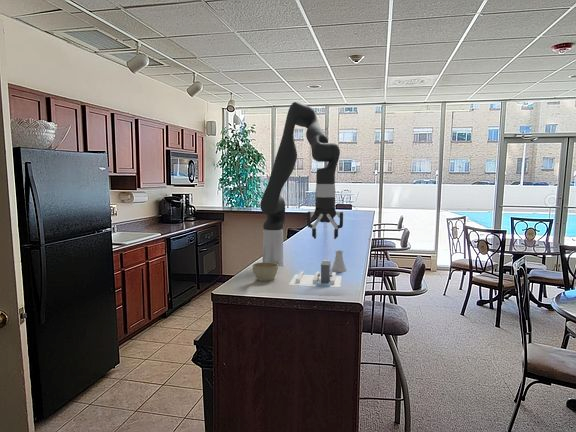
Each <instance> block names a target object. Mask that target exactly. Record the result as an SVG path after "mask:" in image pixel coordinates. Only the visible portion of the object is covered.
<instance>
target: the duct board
mask: <svg viewBox="0 0 576 432" xmlns="http://www.w3.org/2000/svg"><path fill="white" fill-rule="evenodd" d="M341 283H342V275H337V272H334V271H332V272H331V273H330V281H329V283H321V271H316V272H315V274H305V270H299V273H297V274H296V273H295V274H294V275H293V277H292V279H291V280H290V282H289V283H288V286H304V287H305V286H306V287H307V286H308V287H324V288H325V287H326V288H327V287H328V288H331V287H332V288H341Z"/></svg>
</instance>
